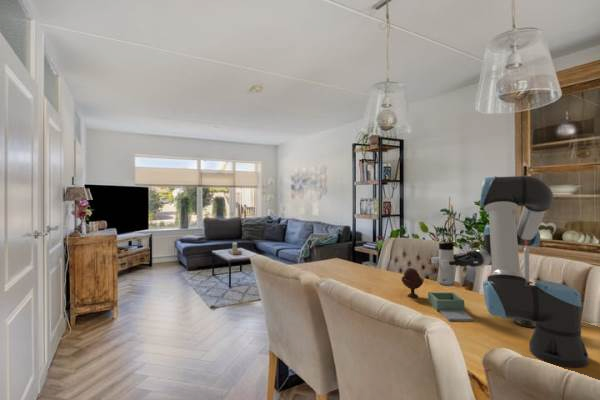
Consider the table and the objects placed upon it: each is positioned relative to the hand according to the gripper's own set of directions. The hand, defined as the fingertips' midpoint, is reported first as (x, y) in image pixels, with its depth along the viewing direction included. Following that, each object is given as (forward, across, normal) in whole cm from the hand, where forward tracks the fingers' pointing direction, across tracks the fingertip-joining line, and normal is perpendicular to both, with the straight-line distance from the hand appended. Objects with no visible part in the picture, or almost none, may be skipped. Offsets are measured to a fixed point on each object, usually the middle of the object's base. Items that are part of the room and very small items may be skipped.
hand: (437, 261), depth 149 cm
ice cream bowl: (0, +19, -22) cm, 29 cm away
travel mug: (-5, 0, -11) cm, 12 cm away
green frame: (-5, +1, -22) cm, 22 cm away
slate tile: (-1, -10, -22) cm, 24 cm away
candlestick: (-22, -26, -22) cm, 40 cm away
